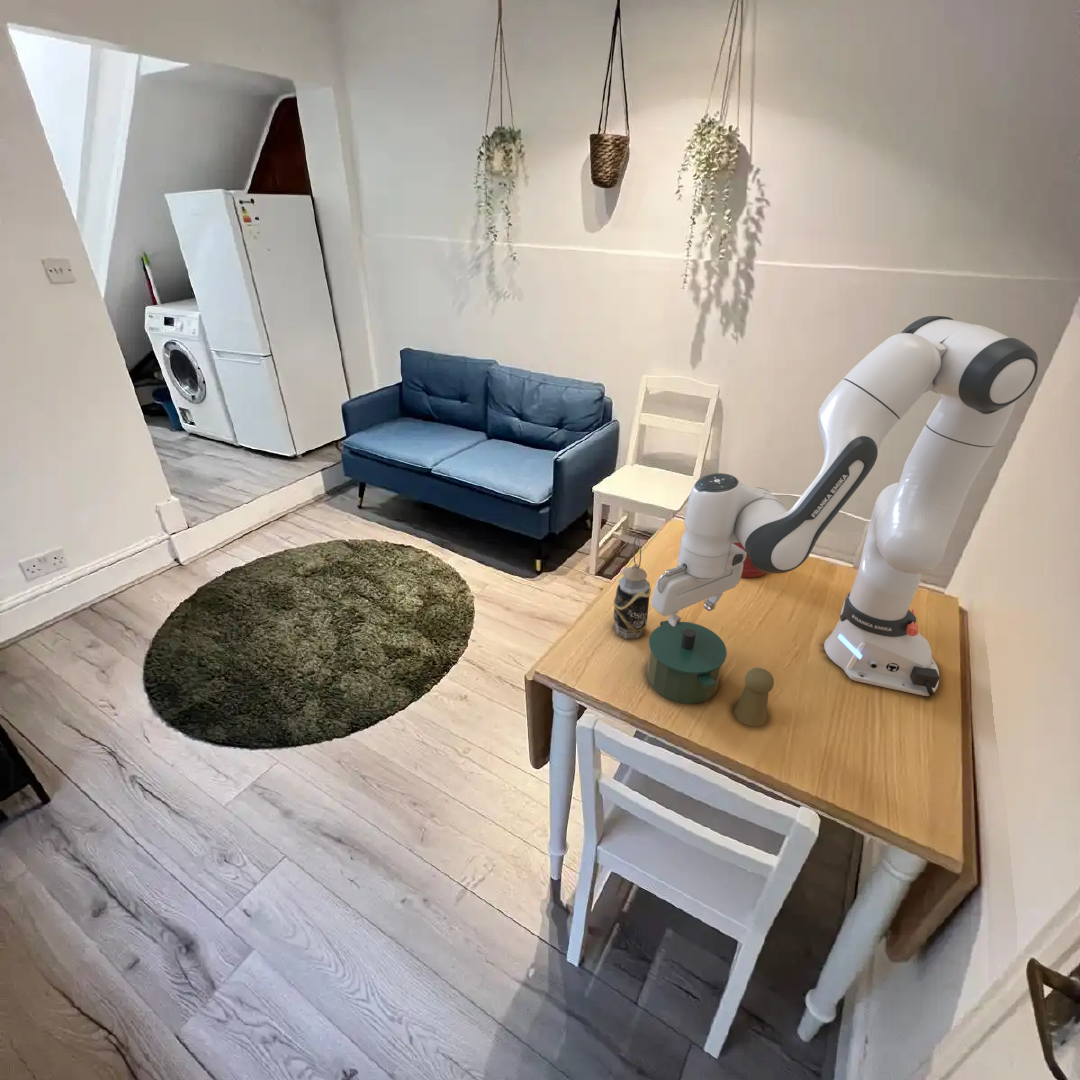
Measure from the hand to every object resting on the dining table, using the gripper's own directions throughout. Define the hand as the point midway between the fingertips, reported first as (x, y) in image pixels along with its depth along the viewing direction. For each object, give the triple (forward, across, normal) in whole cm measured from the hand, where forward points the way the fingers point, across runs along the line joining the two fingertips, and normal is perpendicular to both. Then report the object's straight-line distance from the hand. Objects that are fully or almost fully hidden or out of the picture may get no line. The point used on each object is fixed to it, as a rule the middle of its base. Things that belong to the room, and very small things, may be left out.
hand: (691, 616), depth 114 cm
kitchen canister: (+17, +45, +24) cm, 54 cm away
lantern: (+17, 0, +18) cm, 25 cm away
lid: (+8, 0, 0) cm, 8 cm away
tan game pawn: (+17, +5, -15) cm, 23 cm away
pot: (+17, 0, 0) cm, 17 cm away
